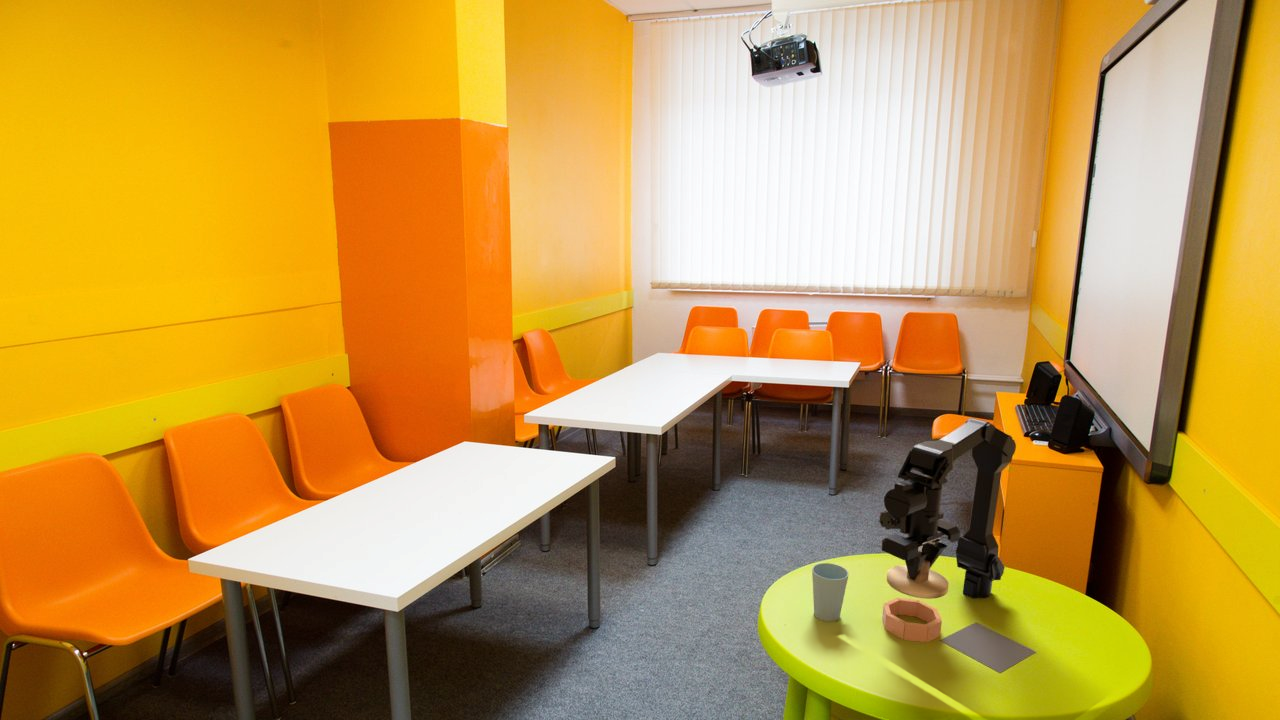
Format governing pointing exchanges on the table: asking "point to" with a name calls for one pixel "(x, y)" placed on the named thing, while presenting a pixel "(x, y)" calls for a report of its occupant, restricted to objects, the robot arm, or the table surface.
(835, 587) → the cup
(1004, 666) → the mat
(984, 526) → the robot arm
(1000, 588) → the table surface
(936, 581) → the lid
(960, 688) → the table surface
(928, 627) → the ring
